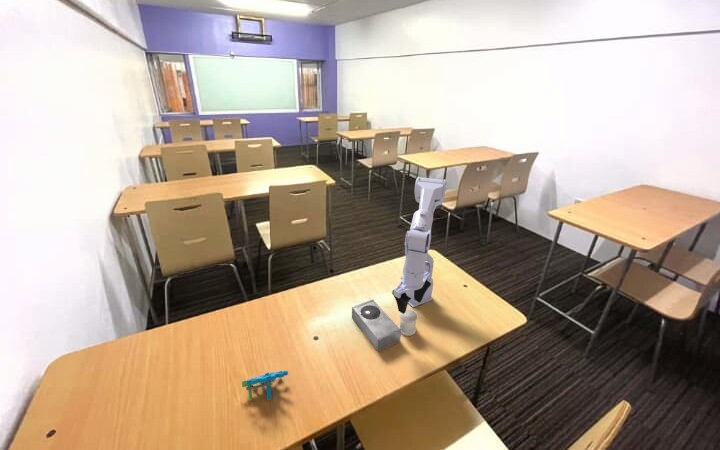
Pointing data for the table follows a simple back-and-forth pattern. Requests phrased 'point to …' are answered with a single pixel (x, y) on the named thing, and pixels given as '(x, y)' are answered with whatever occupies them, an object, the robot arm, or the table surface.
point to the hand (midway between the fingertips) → (409, 306)
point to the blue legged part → (262, 379)
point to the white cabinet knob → (408, 322)
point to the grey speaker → (376, 325)
